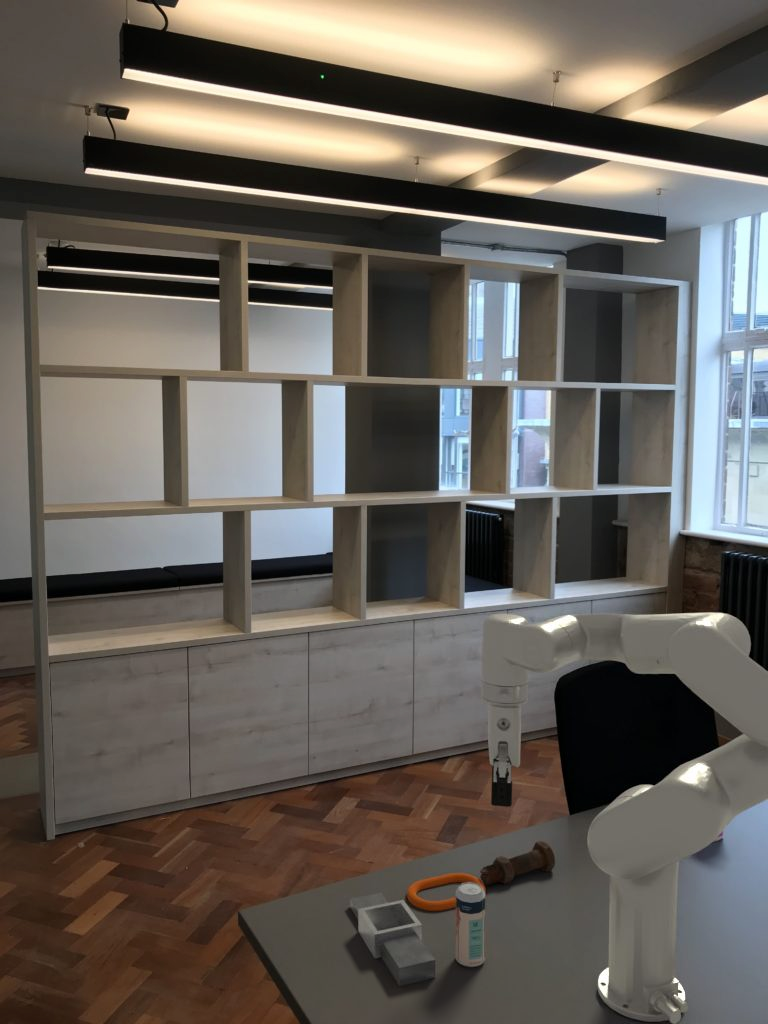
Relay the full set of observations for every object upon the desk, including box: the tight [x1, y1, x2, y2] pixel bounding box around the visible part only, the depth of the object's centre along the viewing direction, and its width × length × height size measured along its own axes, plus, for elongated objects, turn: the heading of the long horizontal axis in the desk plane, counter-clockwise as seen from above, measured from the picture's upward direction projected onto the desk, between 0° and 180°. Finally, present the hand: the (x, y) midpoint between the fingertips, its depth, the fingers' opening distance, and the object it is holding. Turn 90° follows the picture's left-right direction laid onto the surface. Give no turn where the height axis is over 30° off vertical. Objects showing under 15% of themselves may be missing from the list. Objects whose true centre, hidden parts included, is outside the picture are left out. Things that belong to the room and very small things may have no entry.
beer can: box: [454, 882, 487, 968], centre depth 137 cm, size 5×5×12 cm
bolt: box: [479, 840, 556, 886], centre depth 164 cm, size 6×5×15 cm
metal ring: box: [406, 872, 487, 912], centre depth 158 cm, size 10×2×15 cm
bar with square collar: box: [349, 892, 436, 987], centre depth 143 cm, size 24×8×4 cm, turn 20°
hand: (501, 792), depth 141 cm, fingers open, 9 cm apart
